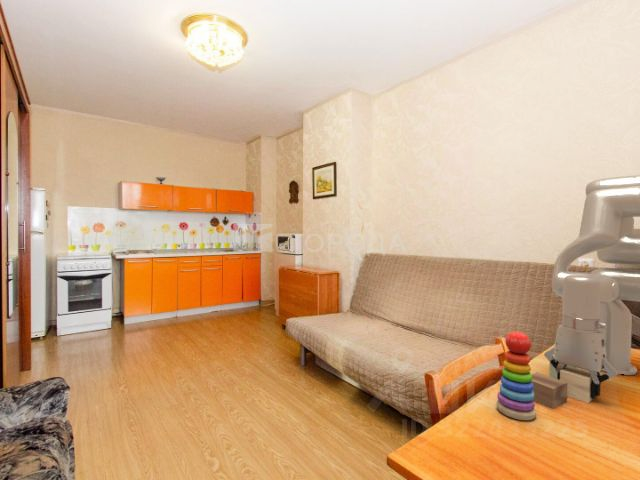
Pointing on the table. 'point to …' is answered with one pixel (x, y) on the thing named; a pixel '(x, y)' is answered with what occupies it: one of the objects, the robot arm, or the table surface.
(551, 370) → the sage block
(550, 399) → the walnut base
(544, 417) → the table surface
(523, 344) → the stacking toy
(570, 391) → the maple block
